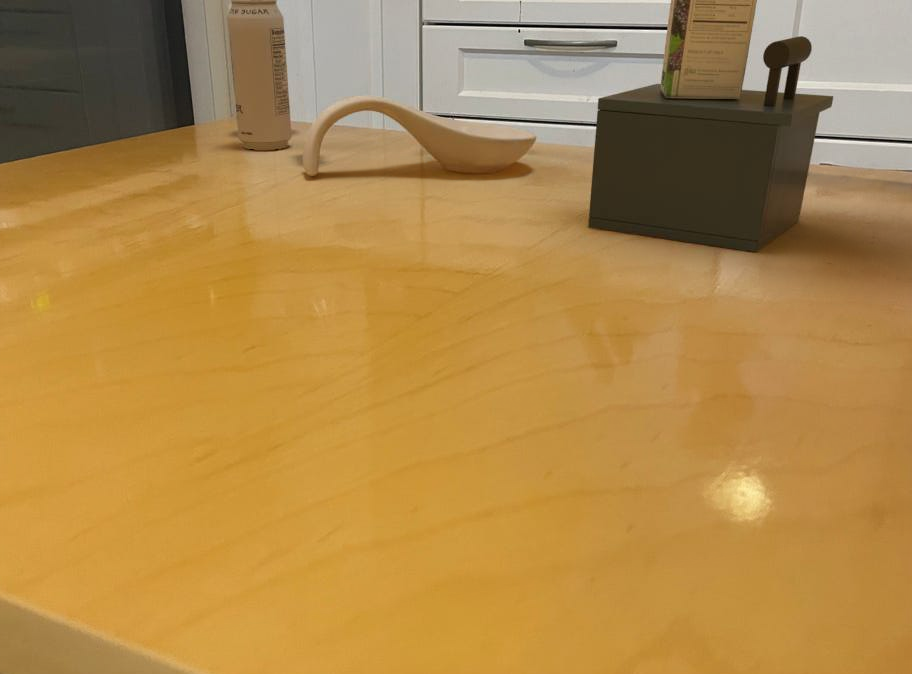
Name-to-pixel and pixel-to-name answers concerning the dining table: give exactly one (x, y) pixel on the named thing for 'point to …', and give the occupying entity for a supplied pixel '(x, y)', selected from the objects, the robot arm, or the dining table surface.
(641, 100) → the lid
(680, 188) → the chest
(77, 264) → the dining table surface
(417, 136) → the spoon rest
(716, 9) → the syrup box
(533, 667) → the dining table surface
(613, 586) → the dining table surface
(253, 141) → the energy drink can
